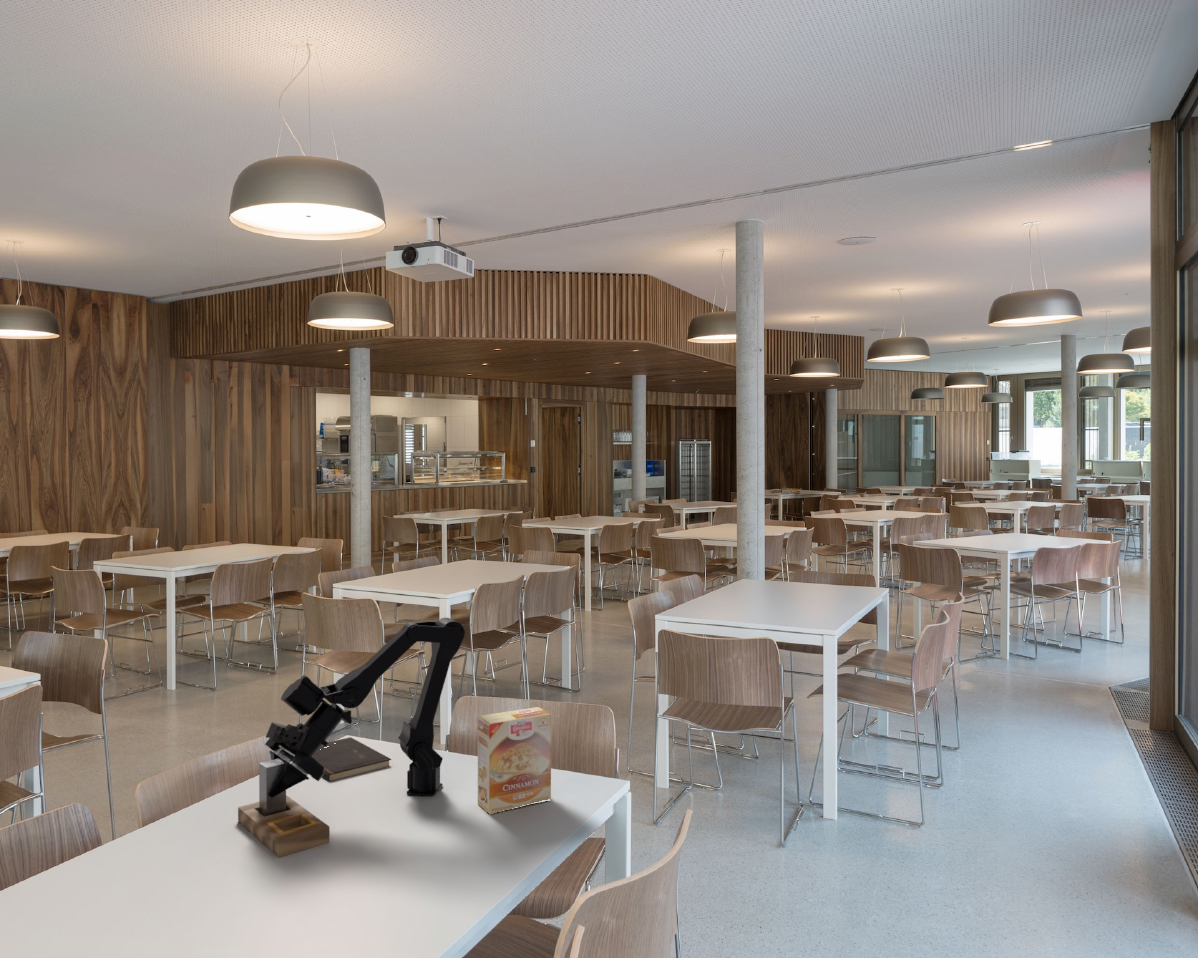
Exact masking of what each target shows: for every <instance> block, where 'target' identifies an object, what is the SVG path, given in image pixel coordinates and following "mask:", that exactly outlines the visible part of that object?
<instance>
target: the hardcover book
mask: <svg viewBox="0 0 1198 958" xmlns="http://www.w3.org/2000/svg"><path fill="white" fill-rule="evenodd" d="M327 742H328V744H327V745H326V747H327V746H329V747H327V748H324V746H323V745H321V747H320V748H319V749H318V751H317V752H316V753H315V754H314V756H313V757H312V758H314V759H315V760H316V761H317V762H318V763H319V764H321V765H322V766H323V767H324V775H323V776H322V777H321V778H323V777H324V778H323V779H324V780H326V781H328V782H330V780H331V781H334V780H339V779H342V778H347V777H349V776H350V777H351V776H354V775H358V774H362V773H363V774H364V773H366V772H370V771H374V770H378V769H379V770H380V769H383V768H387V767H389V766H390V761H391V760H392V758H390V757H389V756H386V755H385V754H383V753H381V752H379V751H377V750H376V749H373V748H372V747H370V746H367V744H364V743H362V742H361V741H359V740H357V739H355V738H353V737H351V736H349V737H345V738H341V739H337V740H332V741H327ZM334 743H336V744H334ZM320 749H321V750H320Z"/></svg>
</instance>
